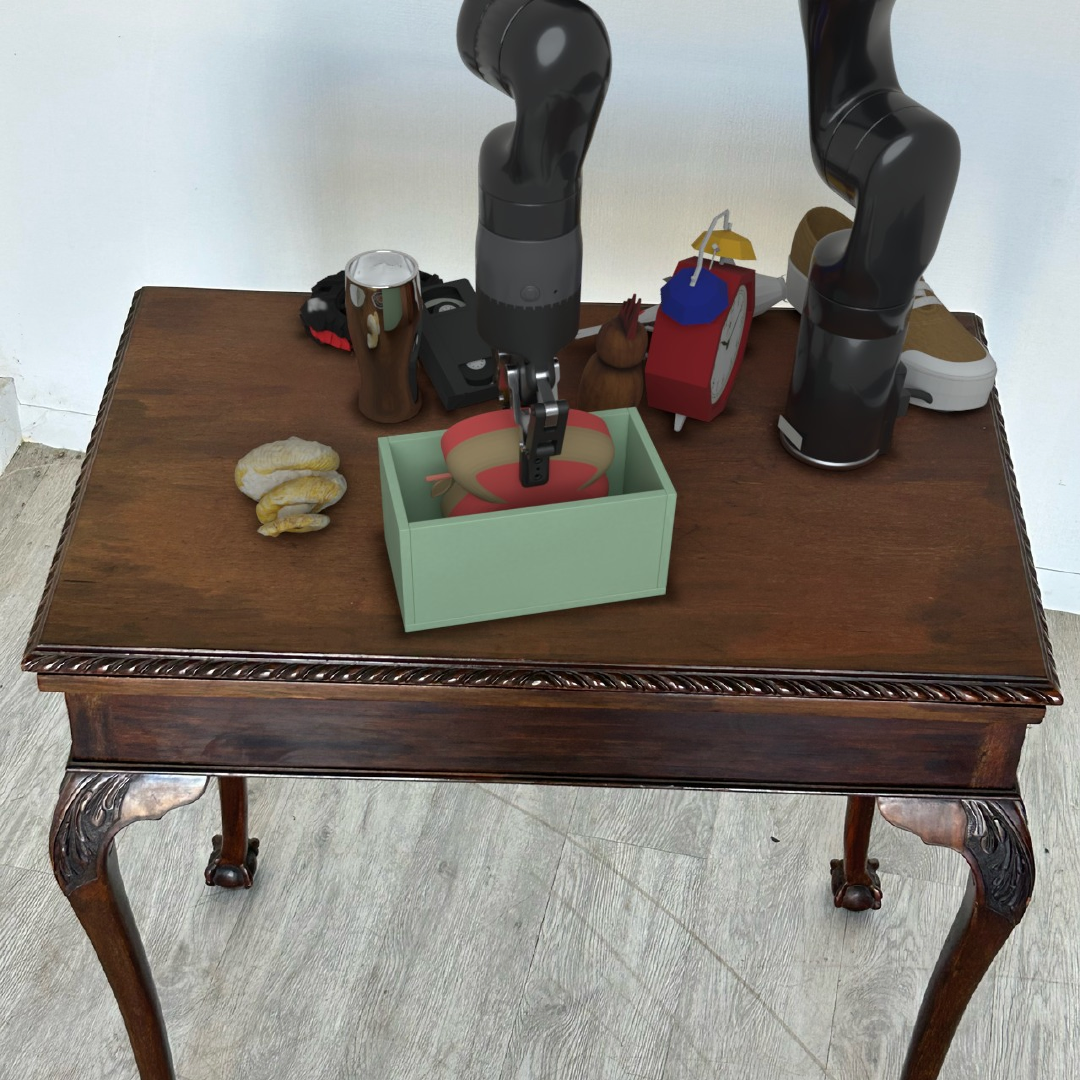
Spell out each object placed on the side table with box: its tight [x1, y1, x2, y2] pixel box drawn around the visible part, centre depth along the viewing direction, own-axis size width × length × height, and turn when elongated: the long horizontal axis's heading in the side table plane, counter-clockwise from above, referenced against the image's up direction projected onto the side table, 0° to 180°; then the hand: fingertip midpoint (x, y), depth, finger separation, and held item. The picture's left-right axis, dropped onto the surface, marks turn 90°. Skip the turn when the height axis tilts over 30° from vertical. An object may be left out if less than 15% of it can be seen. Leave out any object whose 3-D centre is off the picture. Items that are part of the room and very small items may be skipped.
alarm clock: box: [642, 208, 758, 432], centre depth 126 cm, size 15×9×20 cm, turn 157°
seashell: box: [233, 435, 348, 538], centre depth 119 cm, size 10×6×15 cm
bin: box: [377, 407, 678, 633], centre depth 111 cm, size 22×12×11 cm, turn 103°
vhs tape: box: [418, 277, 499, 412], centre depth 135 cm, size 14×8×2 cm, turn 25°
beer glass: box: [344, 248, 423, 424], centre depth 127 cm, size 7×7×15 cm
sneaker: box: [785, 205, 998, 412], centre depth 137 cm, size 10×29×10 cm, turn 27°
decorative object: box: [425, 407, 615, 518], centre depth 110 cm, size 14×4×15 cm
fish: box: [574, 257, 788, 340], centre depth 140 cm, size 10×26×10 cm
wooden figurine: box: [576, 293, 649, 412], centre depth 124 cm, size 7×6×15 cm
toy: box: [299, 269, 444, 352], centre depth 142 cm, size 17×16×3 cm
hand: (525, 463), depth 108 cm, fingers closed on decorative object, 4 cm apart
